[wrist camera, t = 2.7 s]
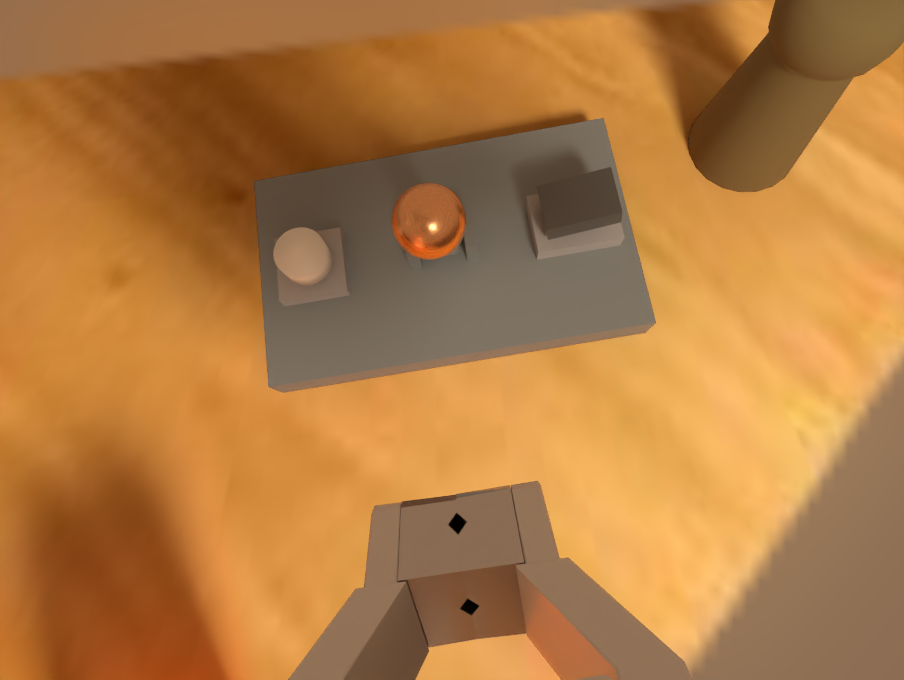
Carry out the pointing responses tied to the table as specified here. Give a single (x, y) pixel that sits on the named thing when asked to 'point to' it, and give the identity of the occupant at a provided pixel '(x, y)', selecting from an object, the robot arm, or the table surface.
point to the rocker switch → (580, 203)
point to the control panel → (445, 263)
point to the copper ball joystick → (429, 221)
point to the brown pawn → (790, 87)
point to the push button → (303, 256)
